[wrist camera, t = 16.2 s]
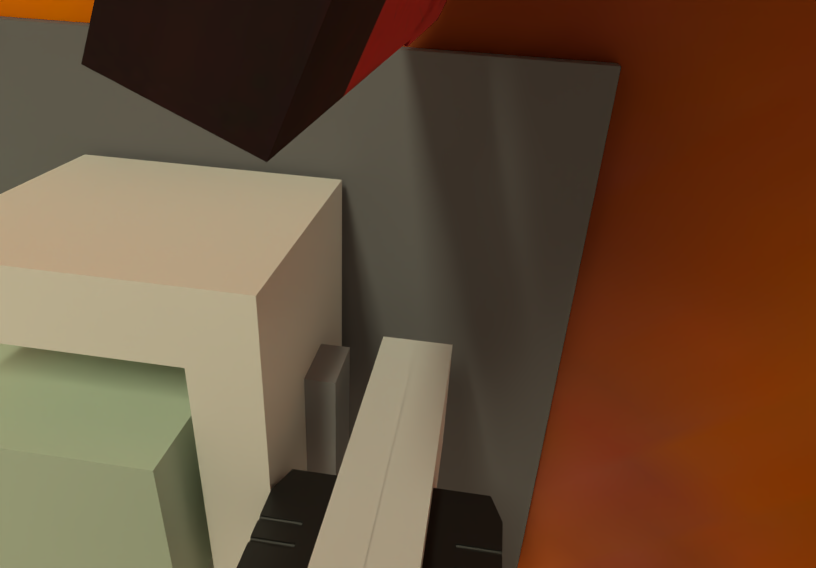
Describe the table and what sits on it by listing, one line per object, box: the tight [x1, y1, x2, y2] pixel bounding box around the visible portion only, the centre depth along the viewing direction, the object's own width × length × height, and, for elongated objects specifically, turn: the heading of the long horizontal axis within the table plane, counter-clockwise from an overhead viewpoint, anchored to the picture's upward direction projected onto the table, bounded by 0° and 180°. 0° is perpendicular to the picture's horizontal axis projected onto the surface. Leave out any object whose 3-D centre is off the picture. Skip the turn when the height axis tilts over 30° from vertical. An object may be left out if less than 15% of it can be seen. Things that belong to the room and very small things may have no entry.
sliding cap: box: [0, 154, 350, 568], centre depth 13 cm, size 9×6×5 cm
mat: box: [0, 16, 621, 568], centre depth 16 cm, size 14×24×1 cm, turn 87°
